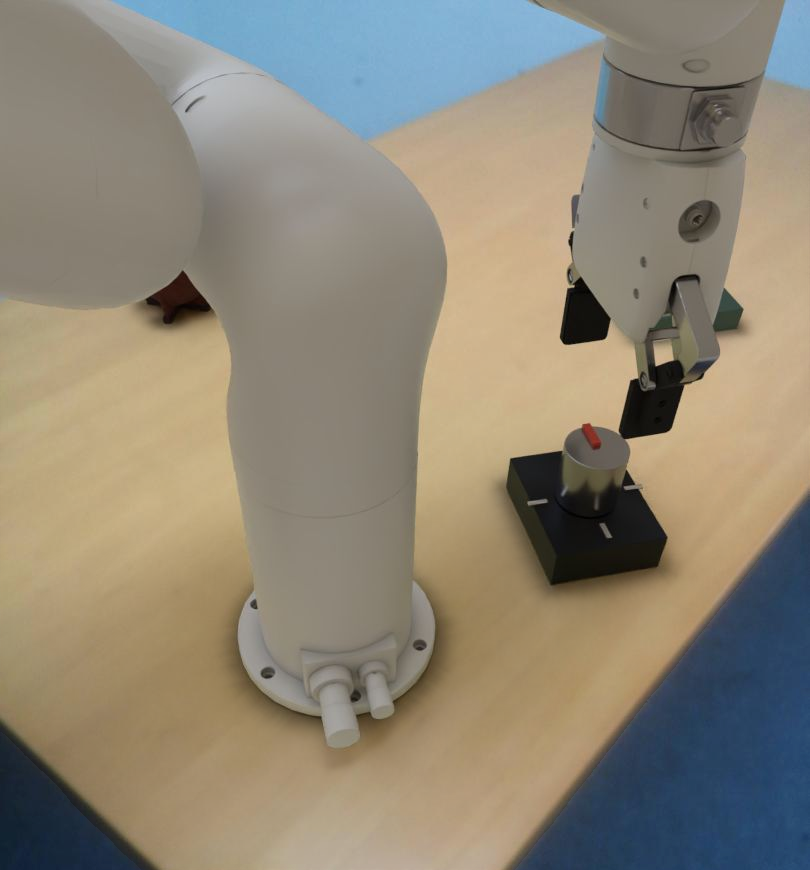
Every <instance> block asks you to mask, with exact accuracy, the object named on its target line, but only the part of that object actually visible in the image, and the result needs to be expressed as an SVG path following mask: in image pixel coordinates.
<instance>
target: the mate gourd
mask: <svg viewBox="0 0 810 870" xmlns="http://www.w3.org/2000/svg"><path fill="white" fill-rule="evenodd" d="M145 302H146V304H147V305H150V306H158V307H159V306H160V307H161V308H162V311H163V314H164V315H163V316H162V322H163V324H169V325H170V324H172V323H173V322H174V320H175V319H176V317H177V316H178V315H179V313H180V312H181V310H191V311H200V312H209V311H211V309H212V307H211V306H210V305H209V303H208V302H207V301H206V299H205V298H204V297H203V296H202V295H201V293H200V292H199V291H198V290H197V289H196V288H195V286H194V285H193V284H192V282H191V281H190V279H189V278H188V276H187V274H186V273H185V272H184V271H183V270H182V272H181V273H180V274H179V275H178V276H177V277H176V278H175V279H174V280H173V281H172V282H171V283H170V284H169V285H168V286H166V287H164V288H163V289H161V290H159V291H158V292H156V293H154V294H153V295H151V296H149V297H148V298H146V299H145Z"/></svg>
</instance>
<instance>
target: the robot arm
mask: <svg viewBox="0 0 810 870" xmlns="http://www.w3.org/2000/svg"><path fill="white" fill-rule="evenodd" d="M525 2H529V3H531V4H532V5H536V6H538V7H540V8H542V9H545V10H548V11H550V12H553V13H556V14H558V15H560V16H563V17H564V18H567V19H570V20H572V21H574V22H576V23H578V24H580V25H583V26H585V27H588V28H590V29H591V30H594V31H596V32H598V33H600V34H602V35H605V39H604V47H603V52H602V56H601V63H600V69H599V76H598V82H597V88H596V94H595V101H594V108H593V114H592V120H591V128H592V131H593V136H592V139H591V143H590V148H589V151H588V156H587V159H586V165H585V168H584V173H583V178H582V182H581V188H580V193H579V194H578V193H577V194H573V195H572V197H571V200H570V201H571V203H570V206H571V207H570V209H571V228H572V229H573V230H572V231H570V233H569V236H568V240H567V243H568V246H569V247H570V254H571V255H570V256H571V261H572V262H571V263H570V264H569V265H568V267H567V269H566V281H567V284H568V285H569V286H570V287H567V288H566V294H565V300H564V308H563V314H562V319H561V326H560V331H559V339H560V341H561V343H562V344H563V345H564V346H573V345H580V344H587V343H593V342H599V341H604V340H606V339H607V338H608V334H609V330H610V325H611V321H612V322H613V324H614V325H615V326H616V327H617V329H618V330H619V331H620V332H621V333H622V334H623V335H624V336H625V337H626V338H627V339H628V340H630V341H632V342H633V344H634V352H635V363H636V370H637V371H636V372H637V378H633V379H629V384H628V388H627V391H626V392H627V393H626V396H625V401H624V405H623V410H622V414H621V418H620V421H619V426H618V434H619V435H621V437H622V438H623V439H625V440H631V439H636V438H644V437H648V436H650V437H651V436H655V435H661V434H667V433H669V432H670V431H671V430H672V428H673V426H674V423H675V419H676V416H677V412H678V410H679V406H680V402H681V399H682V396H683V393H684V390H685V389H684V388H685V386H689V385H692V384H693V383H695V382H697V381H701V380H703V378H704V377H705V374H706V373H707V372H708V370H709V369H710V368H712V366H713V365H714V364H715V363H716V362H717V361H718V360H719V358H720V356H721V346H720V343H719V340H718V338H717V335H716V332H715V331H714V328H713V323H714V320H715V317H716V314H717V311H718V307H719V304H720V300H721V296H722V293H723V289H724V288H725V284H726V280H727V277H728V273H729V269H730V264H731V261H732V255H733V251H734V246H735V242H736V237H737V233H738V228H739V227H738V226H739V221H740V214H741V209H742V204H743V195H744V187H745V177H746V163H747V162H746V161H747V155H746V153H744V151H743V150H742V147H743V146H744V144H745V142H746V140H747V136H748V133H749V128H750V125H751V123H752V119H753V115H754V112H755V108H756V104H757V102H758V98H759V94H760V90H761V87H762V84H763V80H764V76H765V74H766V69H767V66H768V63H769V59H770V55H771V52H772V48H773V45H774V42H775V38H776V35H777V31H778V28H779V24H780V21H781V17H782V14H783V11H784V7H785V5H786V0H525ZM442 233H443V232H442V231H441V227H440V225H439V222H438V220H437V218H436V215H435V213H434V211H433V210H432V208H431V206H430V204H429V203H428V201H427V200H426V199H425V197H424V196H423V194H422V193H421V191H420V190H419V189H418V188H417V186H416V185H415V183H414V182H413V181H412V180H411V179H410V178H409V177H408V176H407V175H406V174H405V173H404V172H403V170H402V169H400V167H399V166H398V165H396V163H394V162H393V161H392V160H391V159H390V158H388V157H387V156H386V155H385V154H384V153H382V152H381V151H380V150H379V149H377V148H376V147H374V145H372V144H371V143H369V142H368V141H366V140H365V139H364V138H362V137H361V136H359V135H358V134H356V132H354V131H353V130H351V129H350V128H348V127H347V126H346V125H344V124H343V123H342V122H341V121H339V120H338V119H336V118H335V117H333V116H331V115H329V114H328V113H326V112H325V111H323V110H322V109H320V108H319V107H318V106H316V105H314V104H313V103H312V102H311V101H309V100H308V99H306V98H305V97H304V96H302V95H301V94H300V93H298V92H297V91H296V90H295V89H292V88H291V87H290V86H288V85H287V84H285V83H284V82H283V81H281V80H280V79H278V78H276V77H275V76H273V75H272V74H270V73H268V72H266V71H265V70H263V69H261V68H259V67H257V66H256V65H253V64H251V63H250V62H247V61H245V60H242V59H241V58H238V57H237V56H234V55H232V54H230V53H228V52H226V51H224V50H221V49H220V48H217V47H215V46H212V45H210V44H208V43H205V42H203V41H201V40H199V39H197V38H194V37H192V36H190V35H187V34H185V33H183V32H182V31H179V30H176V29H174V28H172V27H170V26H167V25H165V24H163V23H161V22H160V21H156V20H154V19H152V18H150V17H148V16H145V15H143V14H141V13H138V12H137V11H134V10H132V9H130V8H127V7H125V6H123V5H121V4H118V3H116V2H115V1H112V0H0V298H1V299H2V298H3V299H7V300H11V301H16V302H22V303H26V304H31V305H38V306H41V307H43V306H44V307H49V308H57V309H66V310H75V311H94V310H109V309H117V308H121V307H125V306H128V305H132V304H135V303H138V302H142V301H144V300H146V298H148V297H149V296H151V295H153V294H154V293H156V292H158V291H159V290H161V289H163V288H164V287H166V286H168V285H169V284H170V283H171V282H172V281H173V280H174V279H175V278H176V277H177V276H178V275H179V274H180V273H181V272H182V270H183V271H184V272H185V273H186V274H187V276H188V278H189V279H190V281H191V282H192V284H193V285H194V286H195V288H196V289H197V290H198V291H199V292H200V293H201V295H202V296H203V297H204V298H205V299H206V301H207V303H209V305H210V307H211V309H212V310H213V312H214V313H215V315H216V317H217V319H218V321H219V323H220V325H221V328H222V330H223V333H224V335H225V338H226V342H227V345H228V349H229V355H230V375H229V383H228V386H227V391H226V392H227V393H226V404H225V405H226V422H227V423H226V424H227V425H226V426H227V435H228V441H229V448H230V455H231V461H232V467H233V471H234V475H235V480H236V486H237V493H238V499H239V506H240V510H241V516H242V517H241V518H242V521H243V529H244V534H245V540H246V541H245V542H246V546H247V547H246V548H247V552H248V560H249V565H250V571H251V576H252V577H251V578H252V584H253V589H254V590H253V591H252V592H251V593H250V595H249V596H248V598H247V600H246V601H245V603H244V605H243V607H242V610H241V613H240V615H239V619H238V627H237V642H238V650H239V654H240V658H241V662H242V664H243V667H244V669H245V671H246V673H247V675H248V677H249V678H250V680H251V681H252V682H253V684H254V685H256V687H257V688H258V689H259V690H260V692H261V693H263V694H264V695H265V696H267V697H268V698H270V699H271V700H272V701H274V702H275V703H277V704H279V705H281V706H283V707H285V708H287V709H289V710H291V711H294V712H297V713H301V714H305V715H308V716H314V717H321V720H322V726H323V732H324V736H325V742H326V745H327V746H328V747H330V748H332V749H345V748H348V747H350V746H353V745H355V744H356V743H357V742H358V741H360V738H361V732H360V728H359V727H360V725H359V722H358V718H357V715H362V714H365V713H370V714H371V718H373V719H376V720H383V719H386V718H389V717H391V716H392V715H394V714H395V711H396V709H395V708H396V707H395V705H394V701H395V700H397V699H398V698H400V697H402V696H403V695H404V694H405V693H407V692H409V690H410V689H411V688H412V687H413V686H414V685H415V684H416V683H417V682H418V681H419V680H420V678H421V676H422V675H423V673H424V672H425V671H426V670H427V668H428V665H429V663H430V660H431V658H432V655H433V652H434V648H435V647H434V646H435V640H436V620H435V615H434V610H433V607H432V604H431V602H430V600H429V599H428V596H427V594H426V593H425V591H424V590H423V589H422V588H421V586H420V585H419V583H418V582H417V581H416V580H415V579H414V567H415V565H414V564H415V561H414V560H415V540H416V516H417V515H416V514H417V492H418V490H417V489H418V488H417V487H418V465H419V464H418V463H419V462H418V460H419V450H418V449H419V429H420V413H421V403H422V402H421V401H422V393H423V392H422V391H423V386H424V385H423V384H424V378H425V374H426V373H425V372H426V368H427V363H428V358H429V356H430V355H429V354H430V351H431V347H432V343H433V340H434V336H435V333H436V329H437V326H438V323H439V319H440V316H441V312H442V309H443V306H444V305H443V304H444V300H445V295H446V288H447V282H448V281H447V280H448V256H447V249H446V245H445V241H444V237H443V234H442ZM571 286H572V287H571ZM669 315H671V318H672V327H668V328H661V329H654V330H649V328H654V327H655V326H656V324H657V323H658V321H659V320H660V319H661V317H663V316H669ZM669 340H670V341H671V348H672V359H673V360H669V361H666V362H663V363H661V364H658V365H657V364H656V357H655V356H656V355H655V346H654V343H655V342H662V341H669Z"/></svg>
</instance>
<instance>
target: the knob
mask: <svg viewBox="0 0 810 870" xmlns="http://www.w3.org/2000/svg"><path fill="white" fill-rule="evenodd" d="M562 451H563V452H562V457H561V462H560V467H559V472H558V477H557V482H556V487H555V497H556V499H557V501H558V503H559V504H560V505H561V506H562V507H563V508H564V509H566V510H567V511H569V512H571V513H573V514H576V515H579V516H583V517H599V516H603V515H605V514H607V513H609V512H611V511H612V510H613V509H614V507H615V506H616V504H617V501H618V497H619V493H620V490H621V486H622V482H623V479H624V475H625V472H626V469H627V468H628V464H629V460H630V457H631V447H630V445H629V443H628V441H627V439H623V438H622V437H621V435H620V433H619V432H616V431H614V430H611V429H609V428H606V427H602V426H593V425H592V424H591V422H588V423H582V425H581V427H579V428H576V429H574V430H572V431H570V433H568V435H566V437H565V438H564V443H563V447H562Z"/></svg>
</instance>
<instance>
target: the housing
mask: <svg viewBox="0 0 810 870" xmlns="http://www.w3.org/2000/svg"><path fill="white" fill-rule="evenodd" d="M743 312H744V307H743V306H742V305H741V304H740V303H739V302H738V301H737V300H736V298H734V296H732V294H731V293H730V292H729V290H728V289H726V287H724V289H723V293H722V296H721V300H720V304H719V307H718V311H717V314H716V317H715V320H714V323H713V328H714V331H715V333H716V332H722V331H723V332H724V331H731V330H737V329H738V326H739V324H740V321H741V318H742V315H743ZM668 327H672V318H671V315H669V316H663V317H661V319H660V320H659V321H658V323H657V324H656V326H655V327H654V328H649V330H654V329H661V328H668Z"/></svg>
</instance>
